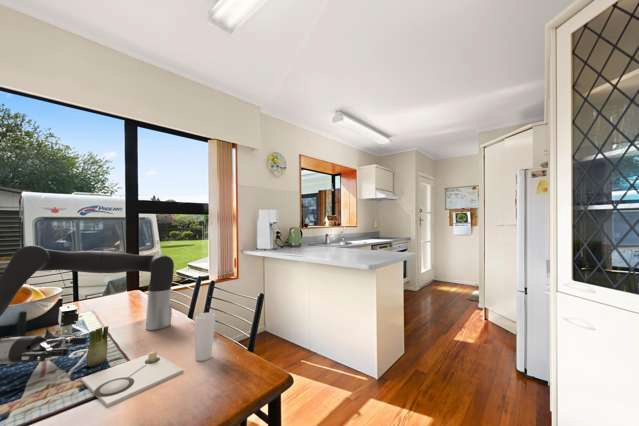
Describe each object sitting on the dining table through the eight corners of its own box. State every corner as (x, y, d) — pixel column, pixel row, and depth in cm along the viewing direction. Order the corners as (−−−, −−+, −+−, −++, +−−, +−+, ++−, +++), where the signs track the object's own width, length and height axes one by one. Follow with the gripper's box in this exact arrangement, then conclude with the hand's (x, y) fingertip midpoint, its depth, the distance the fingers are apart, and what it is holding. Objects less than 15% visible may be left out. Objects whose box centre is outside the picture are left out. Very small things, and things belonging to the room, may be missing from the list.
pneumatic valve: (59, 339, 105) (62, 309, 105) (56, 331, 112) (59, 303, 113) (78, 335, 109) (80, 306, 110) (74, 328, 116) (76, 301, 117)
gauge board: (153, 354, 94) (153, 345, 94) (183, 372, 83) (183, 361, 83) (78, 381, 77) (79, 370, 77) (104, 408, 66) (105, 394, 66)
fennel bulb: (105, 358, 90) (108, 324, 91) (109, 363, 87) (111, 327, 88) (83, 365, 86) (86, 328, 87) (86, 370, 83) (89, 332, 84)
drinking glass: (217, 355, 94) (219, 313, 95) (203, 364, 88) (205, 319, 89) (202, 352, 97) (204, 311, 98) (188, 360, 90) (190, 317, 91)
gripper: (-4, 347, 76) (61, 343, 79) (38, 329, 90) (92, 326, 93) (-6, 373, 75) (60, 368, 79) (36, 351, 89) (90, 347, 93)
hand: (77, 345), depth 86 cm, fingers open, 8 cm apart
